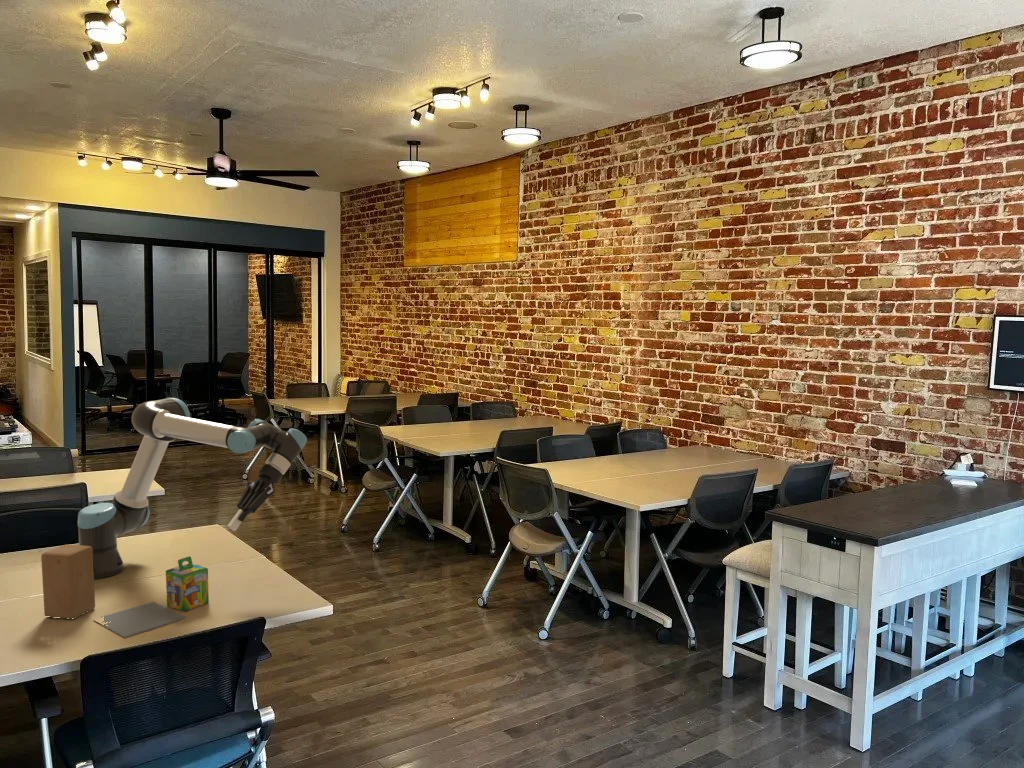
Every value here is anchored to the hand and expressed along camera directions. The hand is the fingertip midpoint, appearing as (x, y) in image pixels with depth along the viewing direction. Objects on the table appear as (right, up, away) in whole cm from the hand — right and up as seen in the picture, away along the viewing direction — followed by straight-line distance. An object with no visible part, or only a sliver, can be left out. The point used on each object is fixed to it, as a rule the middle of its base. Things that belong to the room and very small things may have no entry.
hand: (231, 528), depth 248 cm
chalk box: (-10, -22, -9) cm, 26 cm away
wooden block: (-43, -23, -16) cm, 51 cm away
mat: (-19, -23, -21) cm, 37 cm away
